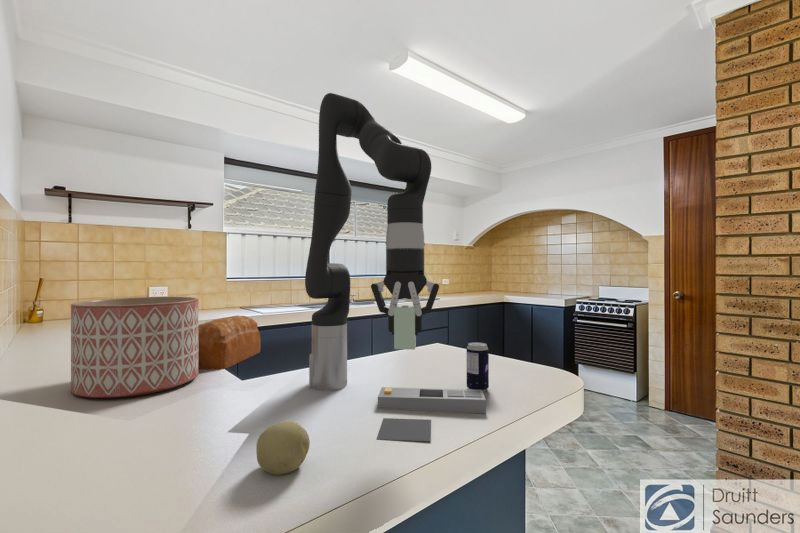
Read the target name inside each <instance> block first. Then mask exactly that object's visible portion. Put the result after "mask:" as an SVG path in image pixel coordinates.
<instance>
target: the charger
mask: <svg viewBox="0 0 800 533" xmlns="http://www.w3.org/2000/svg"><path fill="white" fill-rule="evenodd" d="M393 337H394V338H393V349H394V350H411V351H412V350H414V351H415V350H416V346H417V335H415V307H414V305H409V304H407V305H405V304H403V305H397V306H396V307H394V335H393Z"/></svg>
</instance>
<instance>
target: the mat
mask: <svg viewBox="0 0 800 533" xmlns="http://www.w3.org/2000/svg"><path fill="white" fill-rule="evenodd" d="M431 435H432V419H423V418H419V419H418V418H416V419H415V418H394V417H393V418H388V417H387V418H385V417H383V419H382V421H381V425H380V427H379V430H378V433H377V437H376V440H378V441H394V442H411V443H412V442H413V443H425V444H426V443H427V444H431V441H432V439H431V437H432V436H431Z"/></svg>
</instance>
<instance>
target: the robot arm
mask: <svg viewBox="0 0 800 533" xmlns="http://www.w3.org/2000/svg"><path fill="white" fill-rule="evenodd" d="M318 114H319V116H318V159H317V170H316V172H317V173H316V174H317V175H316V181H315V190H314V200H313V203H314V204H313V219H312V229H311V230H312V231H311V240H310V244H309V249H308V250H309V252H308V255H307V256H308V257H307V262H306V269H305V275H304V287H305V291H306V294H307V296H308V297H309V298H310V299H315V300H320V299H321V300H322V299H327V302H326V304H325V305H324V306H323V307H322V308H320V309H319V310H317V311H315V312H313V313H312V315H311V353H309V357H308V358H309V359H308V361H309V362H308V364H309V366H308V367H309V368H308V376H309V380H308V382H309V384H308V386H309V388H310V389H315V390H317V391H321V392H322V391H325V392H326V391H330V392H333V391H338V390H342V389H344V388H346V387H347V386H348V317H349V312H350V305H351V304H350V300H351V275H350V271H349V269H348V267H347V266H346V265H345V264H343V263H328V260H329V259H328V258H329V254H330V250H331V247H332V244H333V243H334V240H335V239H336V237H337V236H338V234H339V233H340V232H341V230H342V229H343V227H344V226H345V224H346V223H347V222H348V219H349V216H350V213H351V204H352V194H353V193H352V191H353V190H352V186H351V183H350V179H349V177H348V175H347V173H346V170H345V169H344V167H343V163H342V161H341V160H340V156H339V152H338V151H339V150H338V142H337V141H338V140H337V137H338V136H341V137H345V138H355V139H357V140H358V144H359V146H360V149H361V150H362V152H364V154H365V155H367V157H369V158H370V159H371V160H372V161H373V162H374V165H375V167H376V170H377V171H378V174H380V176H381V177H383V178H385V179H386V180H390V181H392V182H393V181H394V182H400V183H405V189H404V191H403V192H397V193H394V194H391V195H390V196H389V197H388V199H387V204H386V205H387V207H386V209H387V210H386V211H387V213H386V214H387V215H386V216H387V224H386V225H387V226H386V227H387V228H386V234H385V252H386V253H385V257H386V258H385V264H386V265H385V276H384V278H383V280H382V281H378V282H373V283H372V284H371V285H370V288H371V291H372V295H373V296H374V300H375V303H376V306H377V308H378V310H379V313H382V314H385V315H387V317H388V321H387V322H388V332H389V333H391V335H392V336H394V307H396V306H398V303H399V300H402V299H407V300H411V302H412V306H414V307H415V335H416V336H419V333H422V330H423V325H422V324H423V316H424V315H426V314H430V313H431V312H432V309H433V306H434V304H435V300H436V299H437V296H438V292H439V289H440V285H439V283H437V282H436V283H435V282H432V281H429V280H427V277H426V275H425V246H426V243H425V233H424V232H425V231H424V211H423V210H424V201H425V198H426V197H425V196H426V194H427V190H428V184H429V181H430V178H431V173H432V161H431V158H430V156H429V154H428V152H427V151H426V150H425V149H423V148H420V147H415V146H411V145H406V144H403V143H402V141H401V139H400V138H399V137H398V136H397V135H396V134H395V133H393V132H392V131H391V130H389V129H387V127H385V126H384V125H382V124H380V123H379V122H378V121H377V119H375V117H374V116H373V115H372V114H371V113H370V111H369V110H368V109H367V107H366V106H365V105H364V104H363V103H362V102H360V101H358V100H357V99H354V98H350V97H348V96H344V95H340V94H337V93H333V92H329V93H326V94H325V95H324V96H323V98H322V100H321V103H320V106H319V113H318ZM425 286H426V287H427V292H428V293H429V296H428V298H427V302H426V303H425V304H426V305H425V306H423V307H422V305H421V302H420V297H419V295H420V293H421V292H422V291H423V289H424V288H425ZM384 287H386V289H387V290H388V291H389V293H390V294H391V299H390V303H389V304H390V305H389V307H388V306H387V305H386V302H385V300H384V297H383V292H384V289H385V288H384Z"/></svg>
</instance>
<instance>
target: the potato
mask: <svg viewBox="0 0 800 533" xmlns="http://www.w3.org/2000/svg"><path fill="white" fill-rule="evenodd" d="M310 442H311V441H310V437H309V434H308V432H307V430H306V429H305V428H304V427H303V426H301V425H300V424H298V423H297V422H295V421H292V420H284V421H283V420H282V421H279V422H277V423H273V424H271V425H270V426H269V427H267V428H265V429H264V430H263V431H262V432H261V433H260V435H259V436H258V438H257V441H256V445H255V446H256V448H255V449H256V461H257V464H258V465H259V467H260V468H261V469H262V470H264V471H265V472H267V473H269V474H272V475H277V476H280V475H286V474H289V473H292V472H294V471H296V470H297V469H298V468H299V467H301V465H302V464H303V462H304V461H305V459H306V457H307V455H308V452H309V450H310Z"/></svg>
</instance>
